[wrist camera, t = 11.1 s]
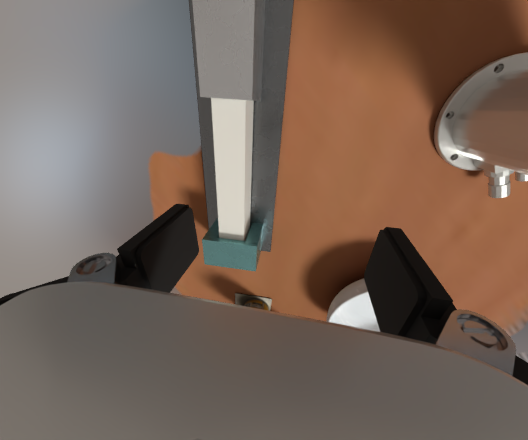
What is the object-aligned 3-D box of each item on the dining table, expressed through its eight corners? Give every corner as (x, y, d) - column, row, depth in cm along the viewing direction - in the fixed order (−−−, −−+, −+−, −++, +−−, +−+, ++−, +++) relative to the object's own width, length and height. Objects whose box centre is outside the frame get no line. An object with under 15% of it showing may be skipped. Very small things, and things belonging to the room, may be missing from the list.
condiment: (269, 318, 51) (261, 373, 40) (235, 312, 51) (219, 365, 41) (271, 298, 47) (265, 353, 37) (235, 292, 48) (218, 344, 37)
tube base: (186, -55, 22) (141, -120, 16) (298, -56, 21) (300, -125, 15) (211, 242, 41) (195, 267, 35) (270, 249, 40) (265, 277, 34)
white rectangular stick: (223, 78, 27) (209, 73, 22) (254, 80, 26) (245, 75, 22) (228, 233, 38) (220, 250, 34) (249, 236, 38) (243, 253, 34)
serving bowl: (441, 319, 43) (464, 354, 37) (341, 337, 50) (348, 368, 44) (420, 245, 36) (445, 274, 30) (307, 278, 43) (308, 307, 37)
